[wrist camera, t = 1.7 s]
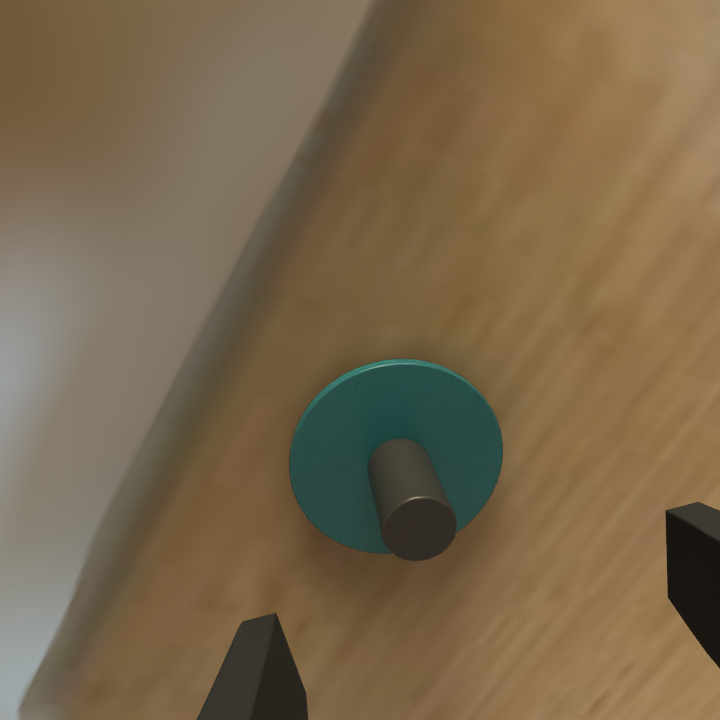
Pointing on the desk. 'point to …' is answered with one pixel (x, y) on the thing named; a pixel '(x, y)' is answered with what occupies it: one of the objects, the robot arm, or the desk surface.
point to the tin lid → (396, 458)
